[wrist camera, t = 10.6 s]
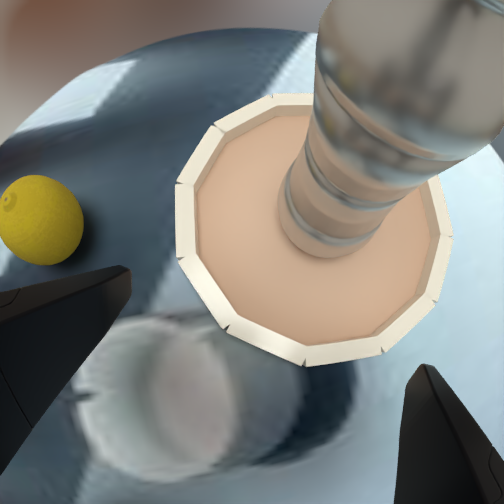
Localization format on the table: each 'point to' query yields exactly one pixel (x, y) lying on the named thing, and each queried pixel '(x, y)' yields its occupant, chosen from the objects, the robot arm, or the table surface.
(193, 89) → the table surface
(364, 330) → the round tray
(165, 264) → the table surface
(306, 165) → the plastic bottle
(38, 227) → the lemon
